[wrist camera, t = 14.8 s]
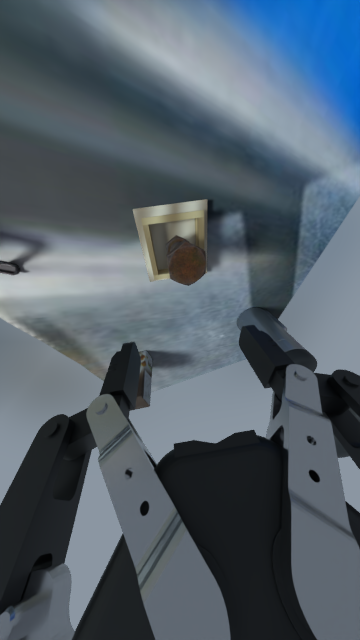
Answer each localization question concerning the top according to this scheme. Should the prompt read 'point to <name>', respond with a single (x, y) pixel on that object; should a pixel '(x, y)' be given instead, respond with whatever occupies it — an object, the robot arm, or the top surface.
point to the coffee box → (144, 381)
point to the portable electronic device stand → (9, 268)
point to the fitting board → (169, 232)
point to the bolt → (185, 261)
